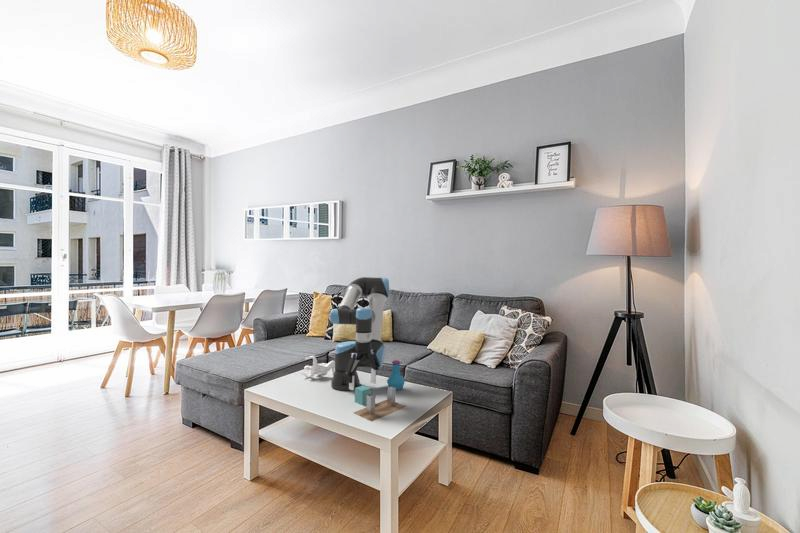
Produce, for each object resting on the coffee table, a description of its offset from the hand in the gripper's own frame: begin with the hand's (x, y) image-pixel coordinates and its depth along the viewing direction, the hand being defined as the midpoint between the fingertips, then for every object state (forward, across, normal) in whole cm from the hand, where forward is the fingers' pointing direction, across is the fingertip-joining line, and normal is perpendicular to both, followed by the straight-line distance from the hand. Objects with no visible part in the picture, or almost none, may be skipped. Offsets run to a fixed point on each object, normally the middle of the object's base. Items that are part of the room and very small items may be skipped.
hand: (362, 386), depth 171 cm
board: (+9, 0, -12) cm, 15 cm away
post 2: (+8, +7, -12) cm, 16 cm away
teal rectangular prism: (+9, 0, 0) cm, 9 cm away
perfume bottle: (+8, +26, +2) cm, 27 cm away
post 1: (+8, -6, -12) cm, 15 cm away
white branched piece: (+8, +9, +47) cm, 49 cm away
